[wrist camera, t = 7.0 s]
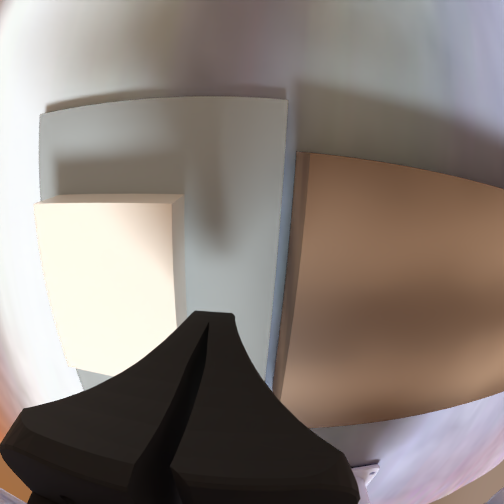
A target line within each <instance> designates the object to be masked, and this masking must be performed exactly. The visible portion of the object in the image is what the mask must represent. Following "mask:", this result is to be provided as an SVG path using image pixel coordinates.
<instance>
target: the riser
mask: <svg viewBox="0 0 504 504" xmlns="http://www.w3.org/2000/svg"><path fill="white" fill-rule="evenodd" d="M272 389H273V393H274V395H275V396H276V397H277V398H278V399H279V401H280V402H281V403H282V404H283V405H284V406H285V407H286V408H287V409H288V410H289V411H290V412H291V413H292V414H293V415H294V416H295V417H296V418H297V419H298V420H299V421H300V422H302V423H303V424H304V425H305V426H306V427H308V428H320V427H335V426H346V425H356V424H365V423H372V422H380V421H386V420H393V419H399V418H404V417H410V416H415V415H420V414H425V413H429V412H434V411H438V410H442V409H447V408H451V407H454V406H458V405H462V404H465V403H469V402H472V401H476V400H479V399H482V398H485V397H489V396H492V395H495V394H497V393H500V392H503V391H504V189H502V188H498V187H495V186H491V185H488V184H484V183H480V182H476V181H472V180H468V179H464V178H460V177H456V176H452V175H447V174H443V173H438V172H433V171H429V170H424V169H419V168H413V167H408V166H403V165H397V164H391V163H385V162H379V161H372V160H366V159H359V158H351V157H344V156H336V155H327V154H318V153H308V152H297V151H296V165H295V178H294V191H293V204H292V215H291V227H290V238H289V248H288V259H287V269H286V278H285V288H284V297H283V306H282V315H281V323H280V332H279V340H278V348H277V356H276V364H275V371H274V379H273V386H272Z"/></svg>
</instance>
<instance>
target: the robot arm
mask: <svg viewBox="0 0 504 504" xmlns="http://www.w3.org/2000/svg"><path fill="white" fill-rule="evenodd" d="M0 453H1V455H2V457H3V459H4V461H5V462H6V463H7V465H8V466H9V467H10V468H11V469H12V471H13V472H14V473H15V474H16V475H17V476H18V477H19V478H20V479H21V480H22V481H23V482H24V483H25V484H26V486H28V487H29V488H30V490H31V491H32V494H31V496H30V498H29V500H28V503H25V502H24V501H22V500H20V499H18V498H16V497H15V496H13V495H11V494H10V493H8V492H6V491H5V490H3V489H1V488H0V504H370V501H369V497H368V493H367V489H366V487H367V485H368V484H369V483H370V481H371V480H372V479H373V477H374V476H375V475H376V473H377V472H378V471H379V469H380V467H379V465H377V464H375V465H369V466H363V467H357V468H351V467H350V465H349V463H348V461H347V459H346V457H345V455H344V453H342V452H341V451H339V450H338V449H336V448H335V447H333V446H332V445H330V444H329V443H327V442H326V441H324V440H323V439H322V438H320V437H319V436H317V435H316V434H315V433H314V432H312V431H311V430H310V429H309V428H308V427H306V426H305V425H304V424H303V423H302V422H300V421H299V420H298V419H297V418H296V417H295V416H294V415H293V414H292V413H291V412H290V411H289V410H288V409H287V408H286V407H285V406H284V405H283V404H282V403H281V402H280V401H279V399H278V398H277V397H276V396H275V395H274V393H273V392H272V391H271V390H270V388H269V387H268V386H267V384H266V383H265V382H264V380H263V379H262V377H261V376H260V375H259V373H258V371H257V370H256V368H255V366H254V365H253V363H252V361H251V360H250V358H249V356H248V354H247V352H246V350H245V348H244V345H243V343H242V341H241V338H240V336H239V333H238V330H237V326H236V322H235V315H234V314H233V313H226V312H210V311H196V310H195V311H194V312H192V313H191V314H190V315H189V316H188V317H187V318H186V320H185V321H184V322H183V323H182V324H181V325H180V326H179V327H178V328H177V329H176V330H175V331H174V332H173V333H171V334H170V335H169V336H168V337H167V338H166V339H165V340H164V341H163V342H162V343H161V344H160V345H158V346H157V347H156V348H155V349H153V350H152V351H151V352H150V353H149V354H147V355H146V356H145V357H144V358H142V359H141V360H140V361H138V362H137V363H135V364H134V365H132V366H131V367H129V368H128V369H126V370H124V371H123V372H121V373H119V374H118V375H116V376H114V377H112V378H110V379H108V380H106V381H104V382H102V383H100V384H98V385H96V386H94V387H92V388H90V389H87V390H85V391H83V392H80V393H78V394H75V395H72V396H69V397H66V398H63V399H60V400H57V401H54V402H50V403H46V404H42V405H38V406H34V407H29V408H24V409H23V410H22V412H21V413H20V414H19V416H18V417H17V419H16V420H15V422H14V423H13V425H12V427H11V428H10V430H9V431H8V433H7V434H6V436H5V437H4V439H3V441H2V442H1V444H0ZM484 504H504V488H502V489H501V490H499V491H498V492H497V493H496V494H495V495H494V496H492V497H491V498H490V499H489V501H488V502H486V503H484Z"/></svg>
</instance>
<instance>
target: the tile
mask: <svg viewBox="0 0 504 504" xmlns="http://www.w3.org/2000/svg"><path fill="white" fill-rule="evenodd" d="M184 204H185V194H69V195H57V196H55V197H52V198H49V199H46V200H43V201H40V202H37V203H35V204H34V215H35V224H36V232H37V239H38V246H39V253H40V259H41V264H42V270H43V275H44V280H45V285H46V289H47V294H48V298H49V302H50V306H51V310H52V314H53V318H54V322H55V325H56V329H57V332H58V336H59V339H60V342H61V346H62V349H63V352H64V355H65V358H66V361H67V364H68V366H69V367H73V368H77V369H81V370H86V371H90V372H95V373H100V374H104V375H109V376H116V375H118V374H119V373H121V372H123V371H124V370H126V369H128V368H129V367H131V366H132V365H134V364H135V363H137V362H138V361H140V360H141V359H142V358H144V357H145V356H146V355H147V354H149V353H150V352H151V351H152V350H153V349H155V348H156V347H157V346H158V345H160V344H161V343H162V342H163V341H164V340H165V339H166V338H167V337H168V336H169V335H170V334H171V333H173V332H174V331H175V330H176V329H177V328H178V327H179V326H180V325H181V324H182V323H183V322H184V321H185V320H186V318H187V306H186V281H185V231H184Z"/></svg>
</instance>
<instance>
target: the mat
mask: <svg viewBox="0 0 504 504" xmlns="http://www.w3.org/2000/svg"><path fill="white" fill-rule="evenodd" d="M287 112H288V100H286V99H273V98H258V97H234V96H186V97H163V98H148V99H135V100H125V101H116V102H108V103H100V104H93V105H87V106H80V107H74V108H69V109H63V110H58V111H53V112H48V113H44V114H40V122H39V180H40V197H41V201H43V200H46V199H49V198H52V197H55V196H57V195H69V194H185V204H184V231H185V281H186V306H187V317H188V316H189V315H190V314H191V313H192V312H194V311H195V310H196V311H210V312H226V313H233V314H234V315H235V322H236V326H237V330H238V333H239V336H240V338H241V341H242V343H243V345H244V348H245V350H246V352H247V354H248V356H249V358H250V360H251V361H252V363H253V365H254V366H255V368H256V370H257V371H258V373H259V375H260V376H261V377H262V379H263V380H264V382H265V375H266V366H267V357H268V347H269V338H270V328H271V318H272V308H273V297H274V287H275V276H276V264H277V253H278V241H279V229H280V216H281V203H282V189H283V175H284V161H285V145H286V129H287ZM76 370H77V373H78V376H79V379H80V382H81V384H82V387H83V389H84V391H85V390H87V389H90V388H92V387H94V386H96V385H98V384H100V383H102V382H104V381H106V380H108V379H110V378H112V377H114V376H109V375H104V374H100V373H95V372H90V371H86V370H81V369H77V368H76Z"/></svg>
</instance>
